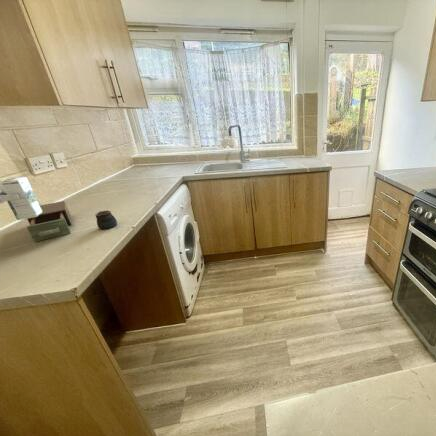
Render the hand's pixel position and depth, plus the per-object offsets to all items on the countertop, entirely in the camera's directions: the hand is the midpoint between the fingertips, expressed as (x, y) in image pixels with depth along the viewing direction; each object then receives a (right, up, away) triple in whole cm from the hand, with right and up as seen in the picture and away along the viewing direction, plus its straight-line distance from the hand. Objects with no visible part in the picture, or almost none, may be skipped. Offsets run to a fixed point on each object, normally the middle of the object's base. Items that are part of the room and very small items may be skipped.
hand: (23, 193), depth 89 cm
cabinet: (-14, -12, +26) cm, 33 cm away
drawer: (-5, -16, +16) cm, 23 cm away
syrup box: (-1, -9, +3) cm, 9 cm away
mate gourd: (+16, -14, +21) cm, 30 cm away
